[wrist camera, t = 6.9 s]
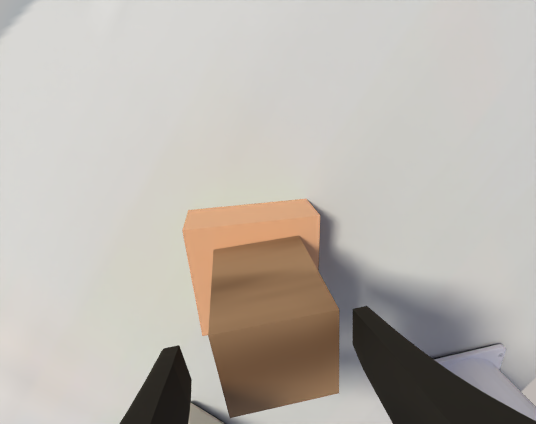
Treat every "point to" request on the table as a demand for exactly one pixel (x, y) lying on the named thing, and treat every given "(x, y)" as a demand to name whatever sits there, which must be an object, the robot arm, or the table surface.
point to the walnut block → (272, 326)
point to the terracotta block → (243, 237)
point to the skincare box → (201, 416)
